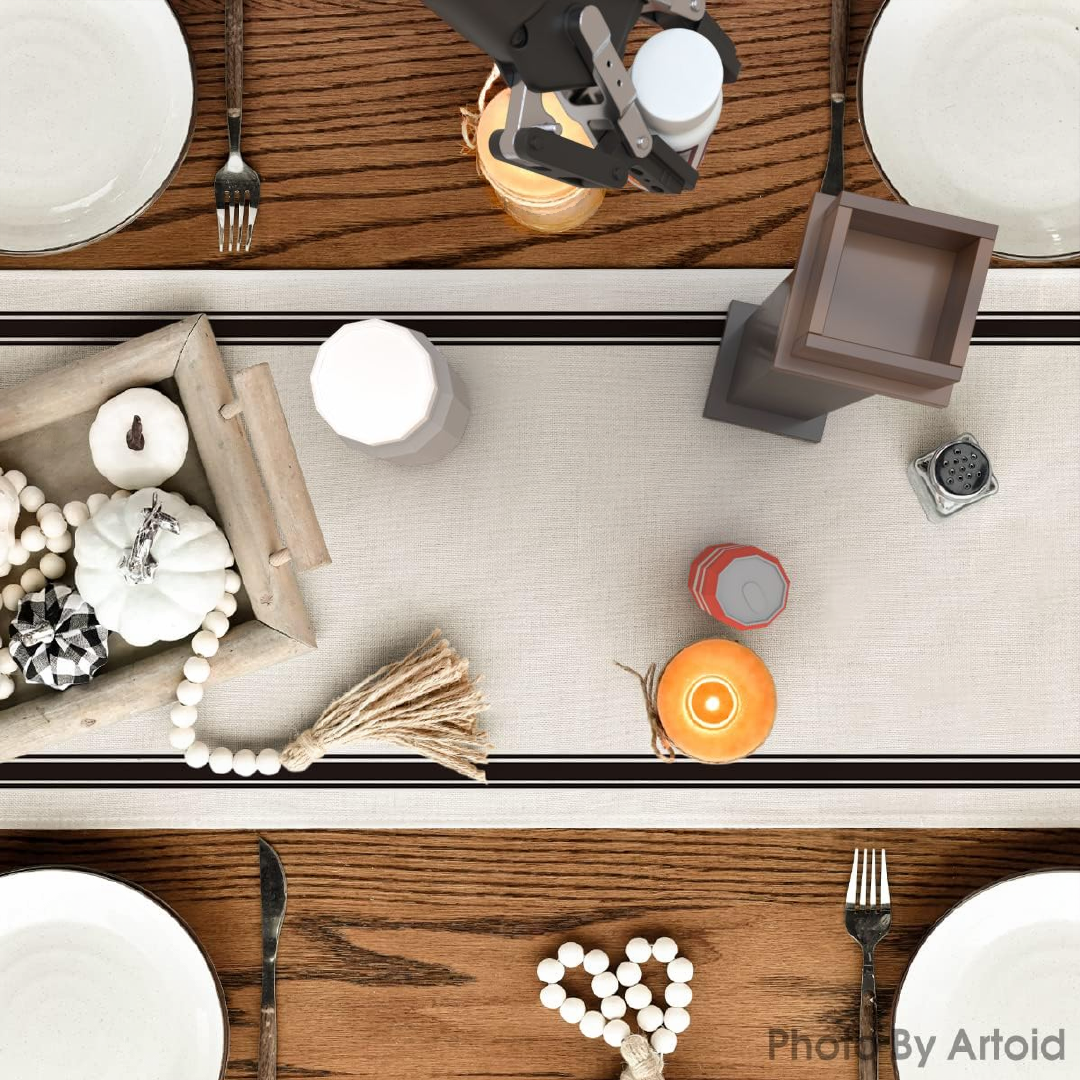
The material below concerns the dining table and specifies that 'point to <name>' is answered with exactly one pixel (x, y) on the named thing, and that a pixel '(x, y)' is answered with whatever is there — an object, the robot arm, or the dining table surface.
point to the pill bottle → (679, 91)
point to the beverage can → (739, 585)
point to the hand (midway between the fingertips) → (703, 129)
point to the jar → (389, 393)
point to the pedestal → (767, 377)
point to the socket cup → (883, 297)
